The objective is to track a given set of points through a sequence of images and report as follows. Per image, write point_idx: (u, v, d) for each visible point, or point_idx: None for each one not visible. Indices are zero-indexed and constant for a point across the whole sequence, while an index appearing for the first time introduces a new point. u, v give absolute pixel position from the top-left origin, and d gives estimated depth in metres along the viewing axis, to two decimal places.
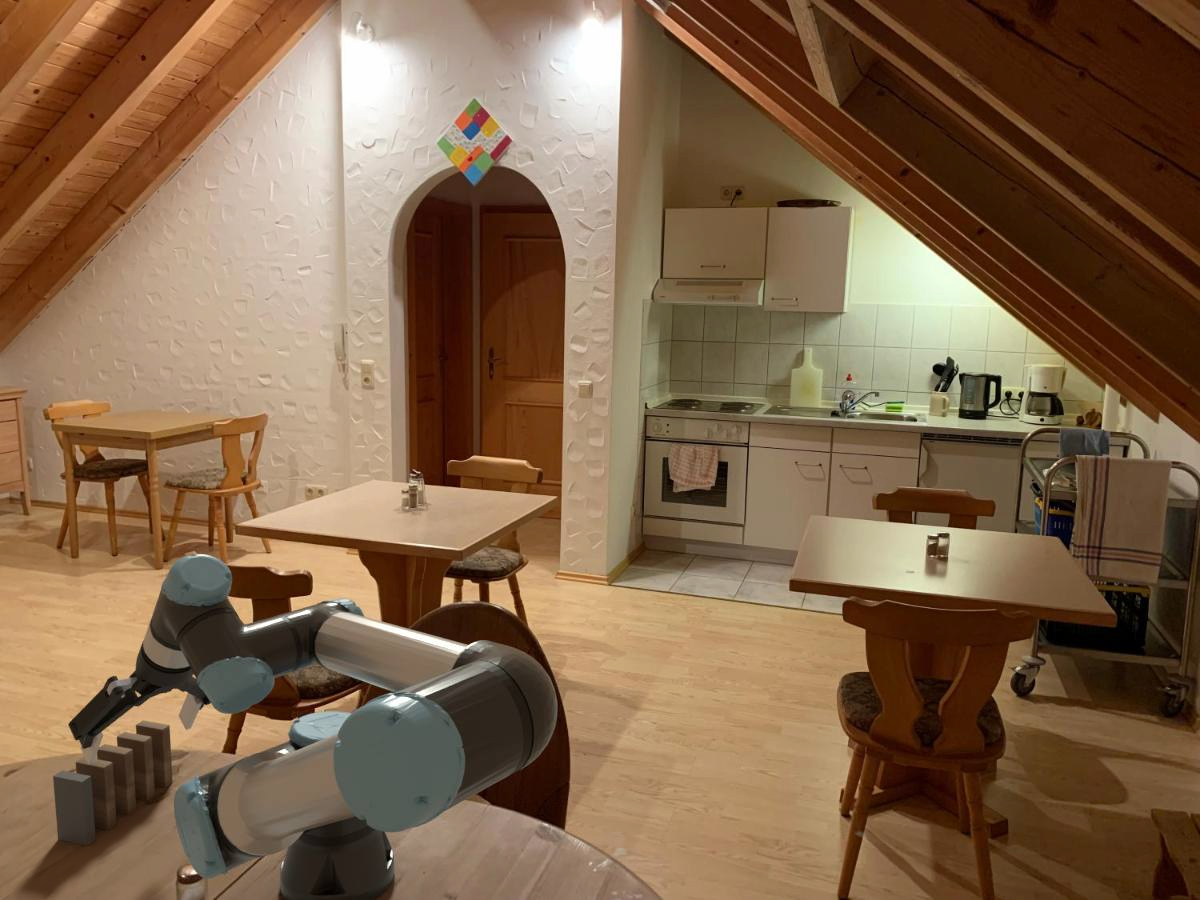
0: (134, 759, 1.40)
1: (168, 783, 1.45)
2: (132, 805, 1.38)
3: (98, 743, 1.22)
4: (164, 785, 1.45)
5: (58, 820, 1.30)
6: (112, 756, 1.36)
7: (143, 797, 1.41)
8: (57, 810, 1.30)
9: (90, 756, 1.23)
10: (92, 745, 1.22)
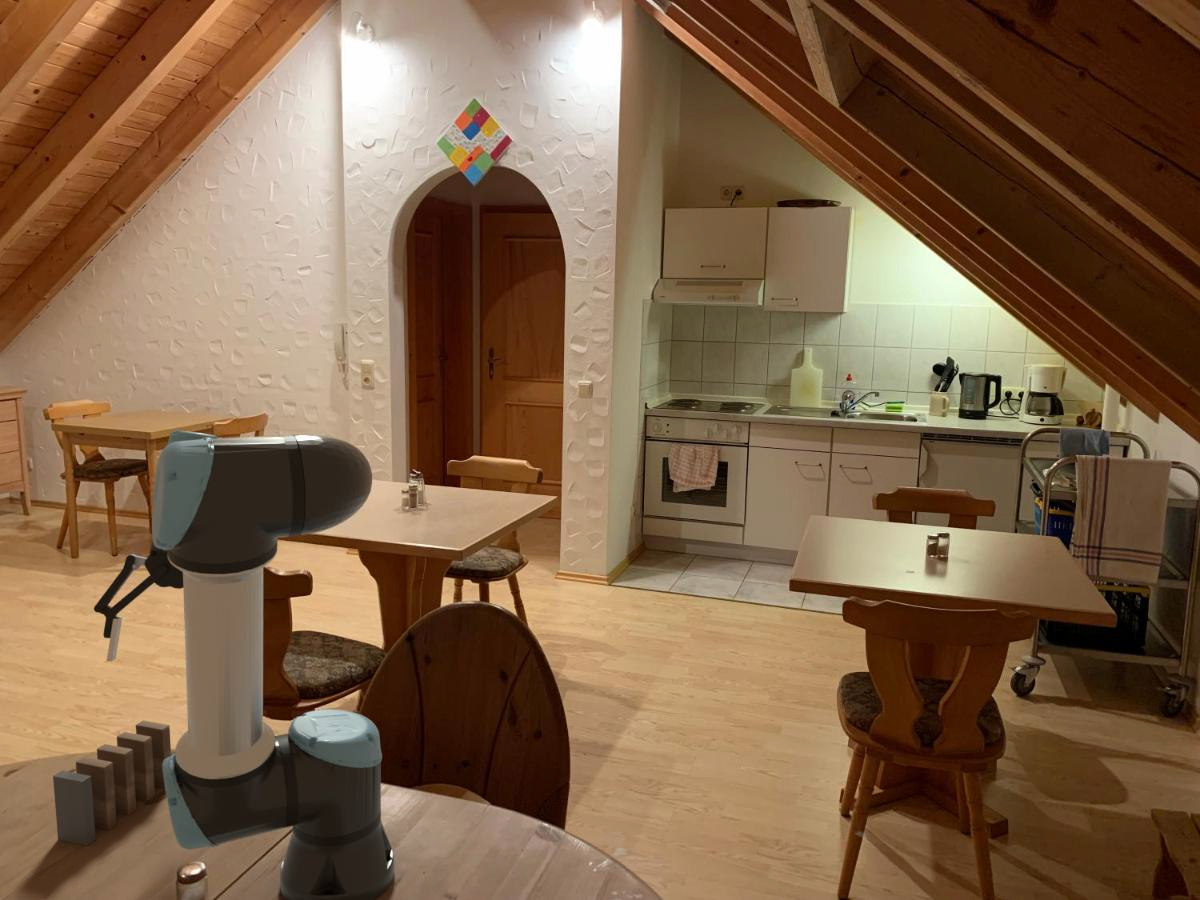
0: (134, 759, 1.40)
1: None
2: (132, 805, 1.38)
3: (114, 630, 1.39)
4: (164, 785, 1.45)
5: (58, 820, 1.30)
6: (112, 756, 1.36)
7: (143, 797, 1.41)
8: (57, 810, 1.30)
9: (108, 650, 1.39)
10: (111, 634, 1.39)
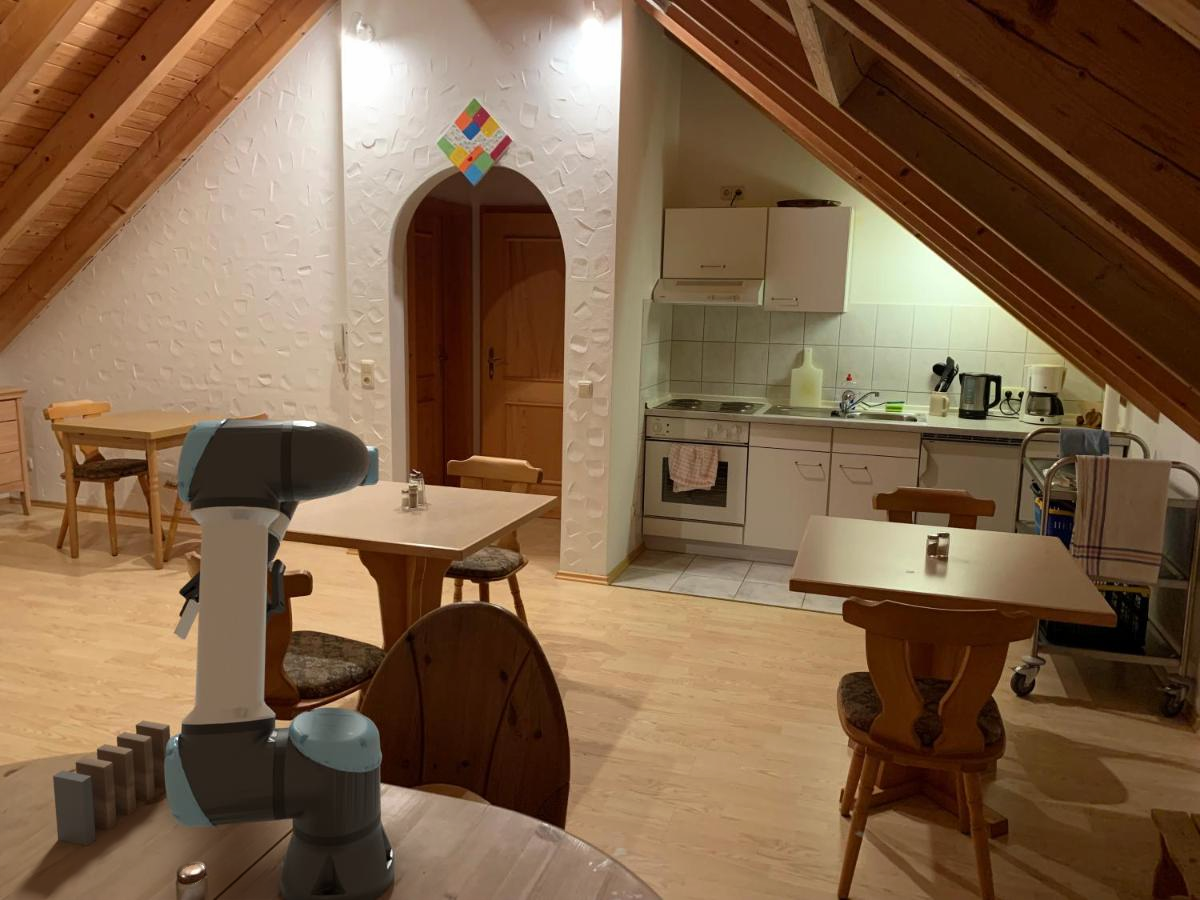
0: (134, 759, 1.40)
1: None
2: (132, 805, 1.38)
3: (187, 608, 1.61)
4: (164, 785, 1.45)
5: (58, 820, 1.30)
6: (112, 756, 1.36)
7: (143, 797, 1.41)
8: (57, 810, 1.30)
9: (178, 624, 1.59)
10: None
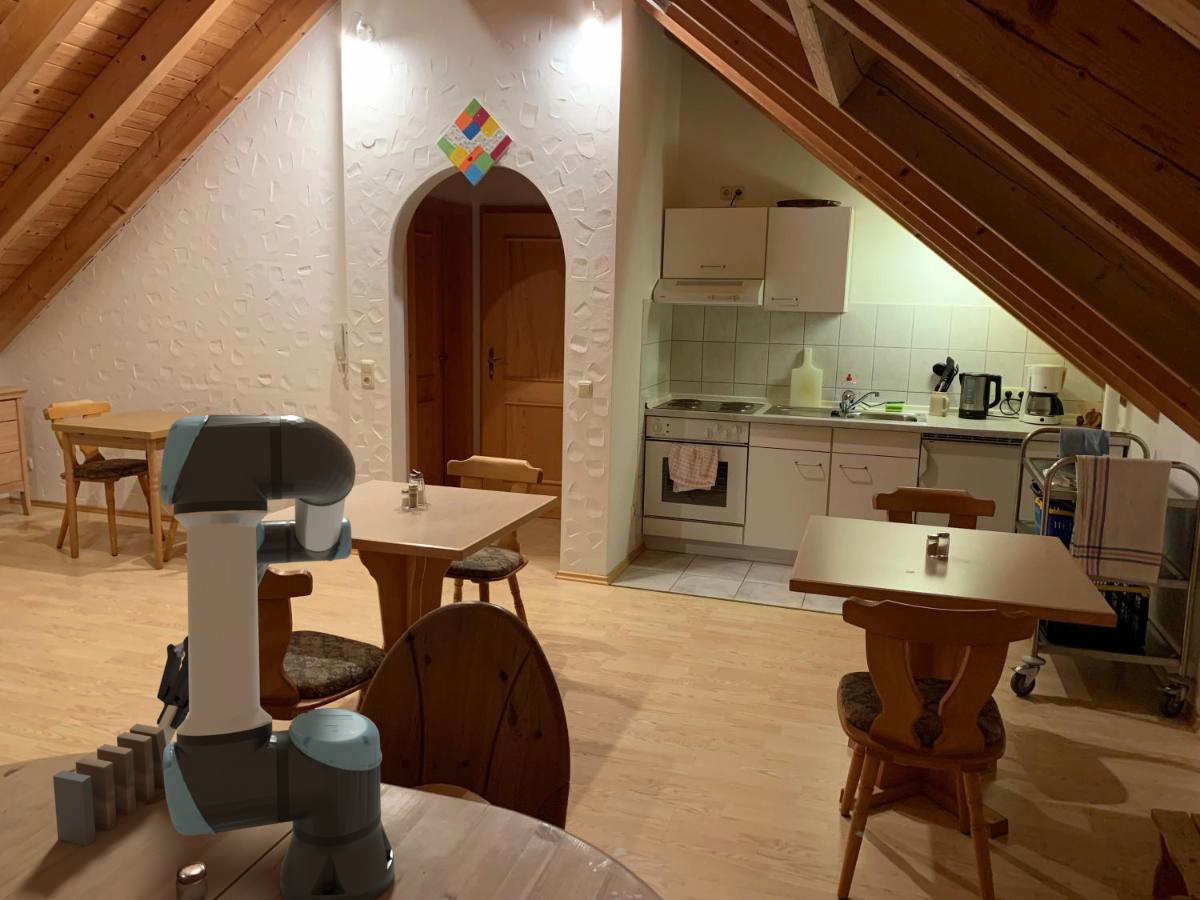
0: (134, 759, 1.40)
1: None
2: (132, 805, 1.38)
3: (166, 715, 1.48)
4: (164, 785, 1.45)
5: (58, 820, 1.30)
6: (112, 756, 1.36)
7: (143, 797, 1.41)
8: (57, 810, 1.30)
9: None
10: None
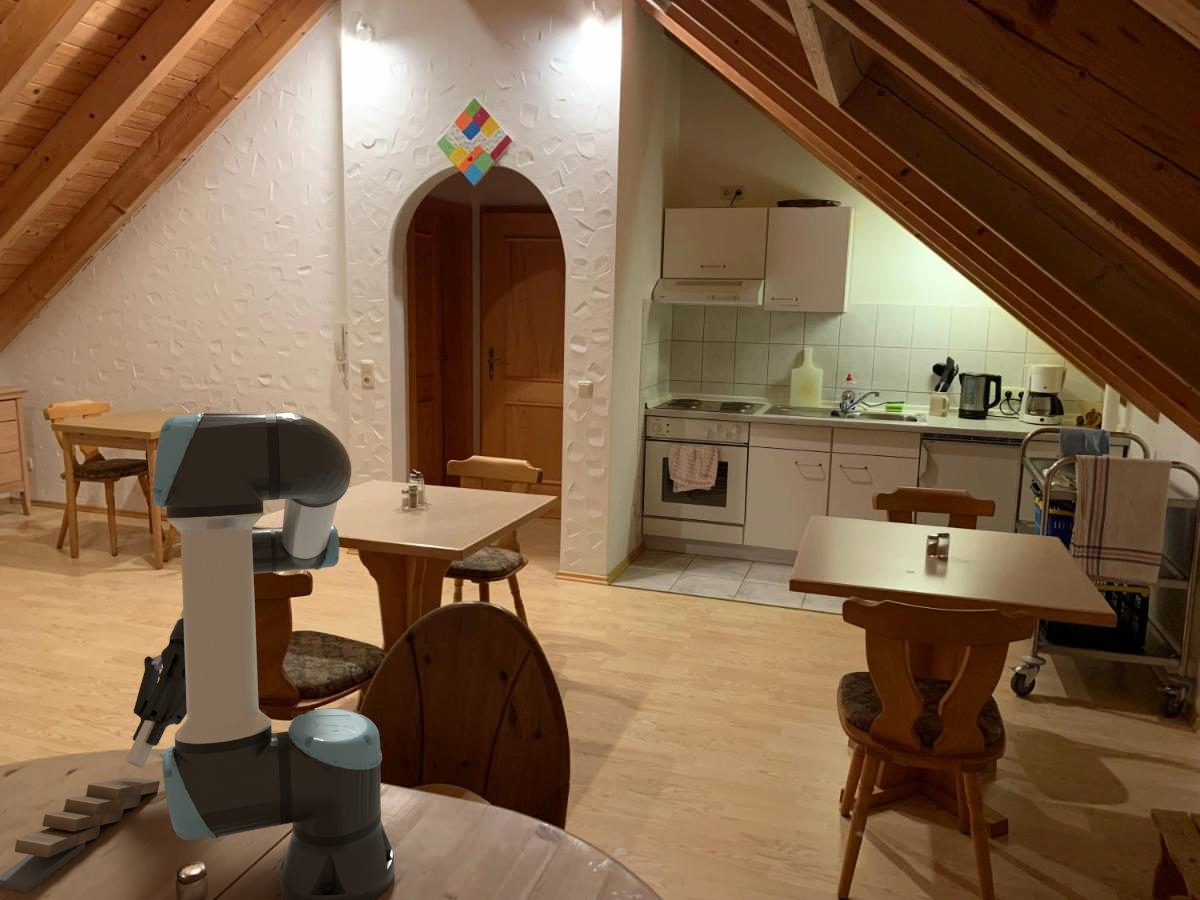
0: None
1: (157, 787, 1.44)
2: (118, 814, 1.35)
3: (142, 731, 1.43)
4: (155, 791, 1.43)
5: None
6: None
7: None
8: None
9: (130, 750, 1.41)
10: None
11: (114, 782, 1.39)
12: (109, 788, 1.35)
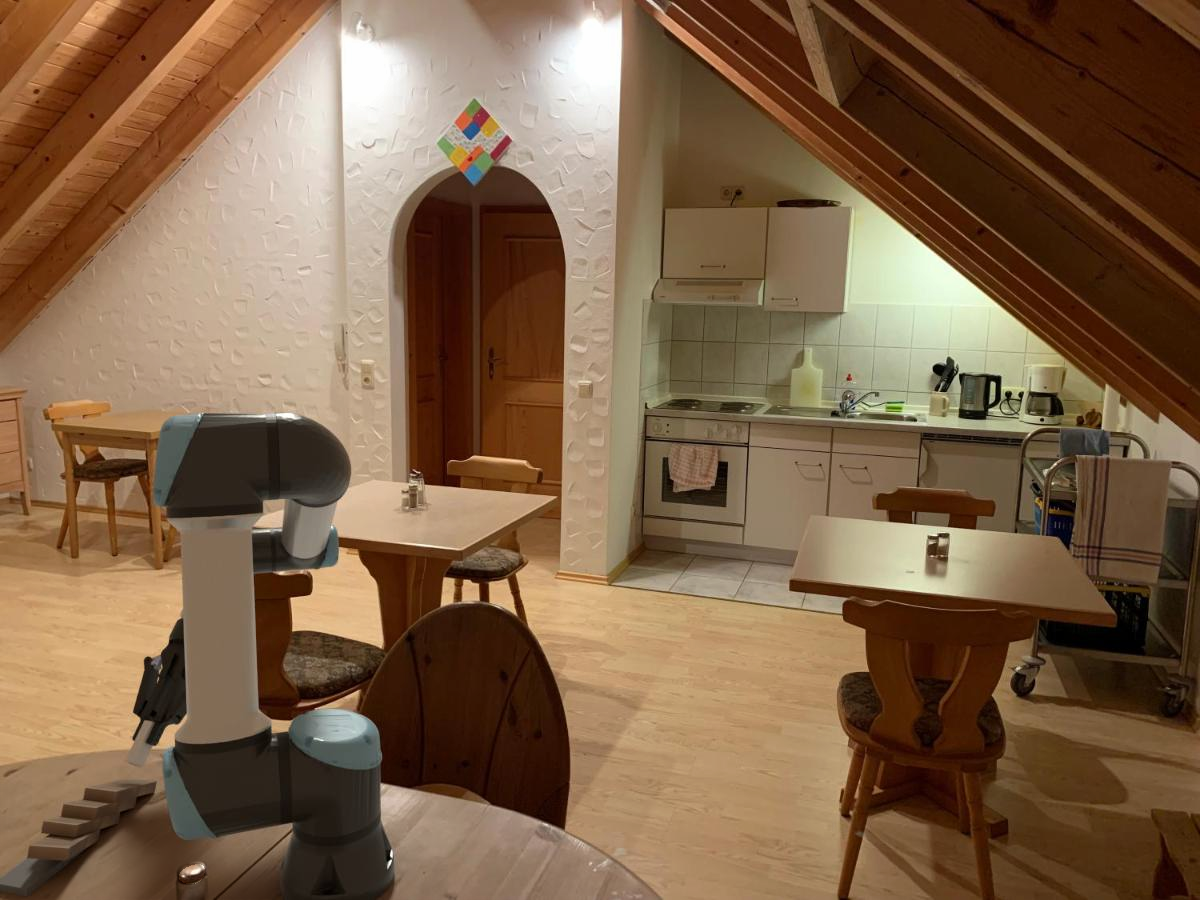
0: None
1: (154, 787, 1.43)
2: (115, 817, 1.34)
3: (141, 731, 1.43)
4: None
5: None
6: None
7: None
8: None
9: (130, 750, 1.41)
10: None
11: (111, 784, 1.38)
12: (107, 791, 1.34)
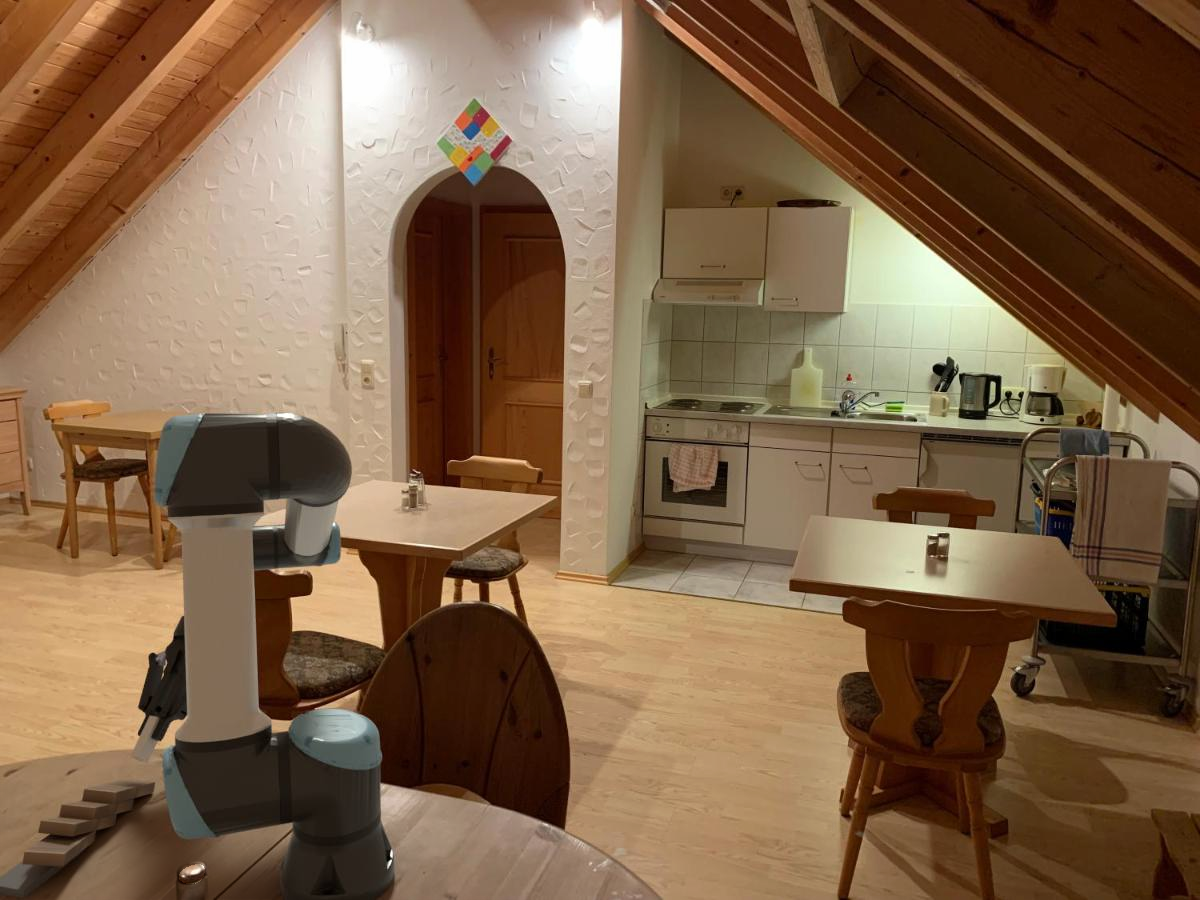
0: None
1: (152, 788, 1.43)
2: (111, 819, 1.33)
3: (147, 726, 1.44)
4: (151, 792, 1.43)
5: None
6: None
7: None
8: None
9: (135, 745, 1.42)
10: None
11: (109, 785, 1.38)
12: (106, 792, 1.34)
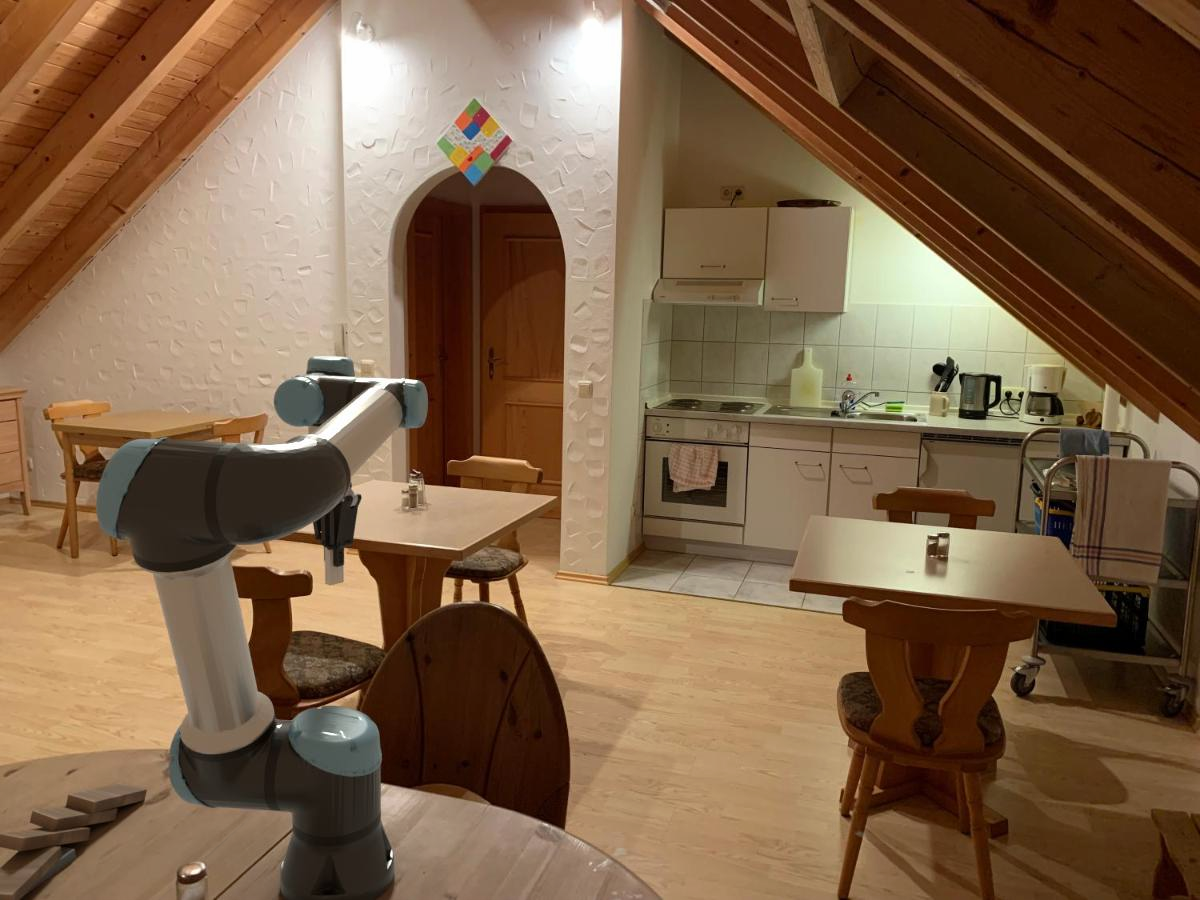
0: None
1: (144, 796, 1.41)
2: (82, 834, 1.29)
3: (326, 557, 1.55)
4: None
5: None
6: None
7: None
8: None
9: (325, 574, 1.56)
10: None
11: (97, 791, 1.37)
12: (86, 800, 1.33)
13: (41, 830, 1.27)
